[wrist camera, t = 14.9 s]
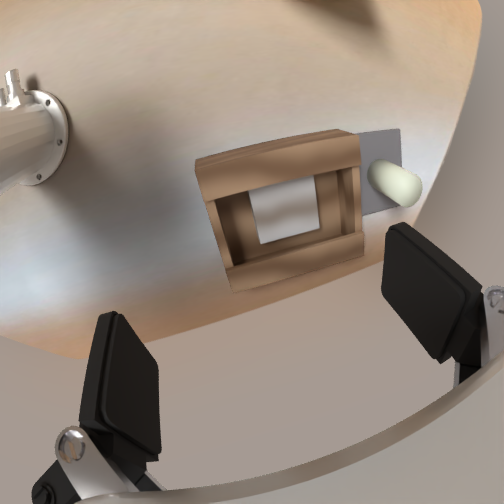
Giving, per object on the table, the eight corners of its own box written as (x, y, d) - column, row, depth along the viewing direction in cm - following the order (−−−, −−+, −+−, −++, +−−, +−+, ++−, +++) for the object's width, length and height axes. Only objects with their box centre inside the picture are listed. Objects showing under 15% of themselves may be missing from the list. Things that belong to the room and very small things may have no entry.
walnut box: (195, 159, 32) (194, 170, 27) (336, 128, 32) (358, 135, 28) (228, 268, 40) (233, 293, 35) (346, 235, 41) (363, 255, 36)
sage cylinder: (367, 159, 35) (398, 174, 29) (392, 158, 35) (424, 173, 29) (366, 189, 37) (394, 209, 31) (390, 186, 37) (419, 205, 31)
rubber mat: (351, 134, 33) (353, 134, 33) (397, 128, 33) (400, 129, 33) (357, 215, 39) (358, 216, 39) (399, 203, 40) (401, 205, 39)
